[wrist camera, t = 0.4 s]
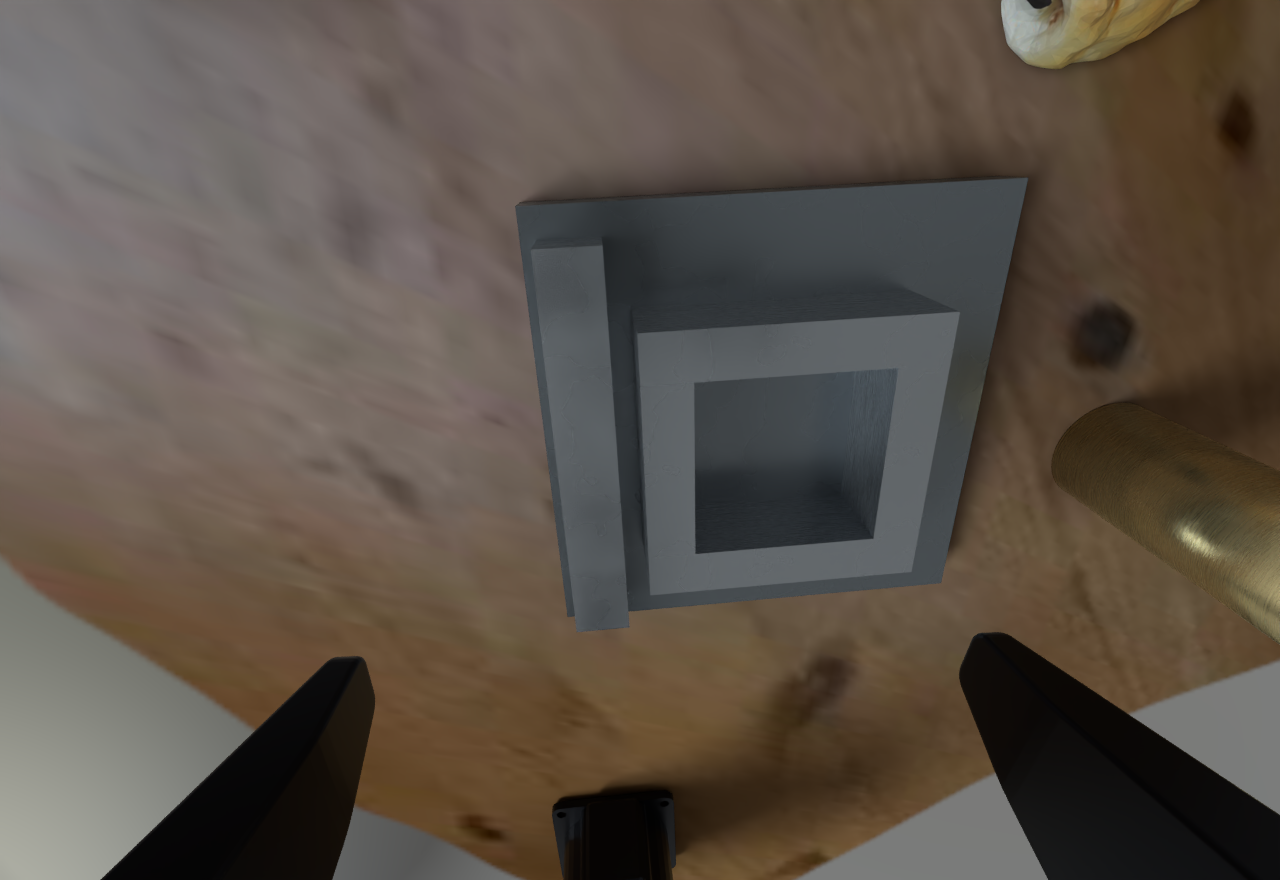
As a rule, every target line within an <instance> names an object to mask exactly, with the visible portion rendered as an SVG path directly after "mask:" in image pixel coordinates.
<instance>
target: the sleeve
mask: <svg viewBox="0 0 1280 880" xmlns="http://www.w3.org/2000/svg"><path fill="white" fill-rule="evenodd" d="M1051 468H1052V475H1053V478H1054V480H1055V482H1056V483H1057V485H1058V486H1059V487H1060V488H1061V489H1062V490H1064V491H1065V492H1067V493H1068V494H1069V495H1071V496H1072V497H1074V498H1075V499H1076V500H1078V501H1079V502H1081V503H1082V504H1083V505H1085V506H1086V507H1088V508H1089V509H1090V510H1092V511H1093V512H1095V513H1096V514H1097V515H1099V516H1100V517H1102V518H1103V519H1104V520H1106V521H1107V522H1109V523H1110V524H1111V525H1113V526H1114V527H1116V528H1117V529H1118V530H1120V531H1121V532H1123V533H1124V534H1125V535H1127V536H1128V537H1130V538H1131V539H1132V540H1134V541H1135V542H1137V543H1138V544H1139V545H1141V546H1142V547H1144V548H1145V549H1146V550H1148V551H1149V552H1151V553H1152V554H1153V555H1155V556H1156V557H1158V558H1159V559H1160V560H1162V561H1163V562H1165V563H1166V564H1167V565H1169V566H1170V567H1172V568H1173V569H1174V570H1176V571H1177V572H1179V573H1180V574H1181V575H1183V576H1184V577H1186V578H1187V579H1188V580H1190V581H1191V582H1193V583H1194V584H1195V585H1197V586H1198V587H1200V588H1201V589H1203V590H1204V591H1205V592H1207V593H1208V594H1210V595H1211V596H1212V597H1214V598H1215V599H1217V600H1218V601H1219V602H1221V603H1222V604H1224V605H1225V606H1226V607H1228V608H1229V609H1231V610H1232V611H1233V612H1235V613H1236V614H1238V615H1239V616H1240V617H1242V618H1243V619H1245V620H1246V621H1247V622H1249V623H1250V624H1252V625H1253V626H1254V627H1256V628H1257V629H1259V630H1260V631H1261V632H1263V633H1264V634H1266V635H1267V636H1268V637H1270V638H1271V639H1273V640H1274V641H1275V642H1277V643H1278V644H1280V471H1279V470H1277V469H1274V468H1272V467H1270V466H1268V465H1266V464H1264V463H1261V462H1259V461H1257V460H1255V459H1253V458H1251V457H1248V456H1246V455H1244V454H1242V453H1240V452H1238V451H1235V450H1233V449H1231V448H1229V447H1227V446H1225V445H1223V444H1220V443H1218V442H1216V441H1214V440H1212V439H1210V438H1207V437H1205V436H1203V435H1201V434H1199V433H1197V432H1194V431H1192V430H1190V429H1188V428H1186V427H1184V426H1181V425H1179V424H1177V423H1175V422H1173V421H1171V420H1169V419H1166V418H1164V417H1162V416H1160V415H1158V414H1156V413H1153V412H1151V411H1149V410H1147V409H1145V408H1143V407H1140V406H1138V405H1135V404H1132V403H1114V404H1109V405H1105V406H1102V407H1099V408H1097V409H1095V410H1093V411H1091V412H1089V413H1087V414H1086V415H1084V416H1083V417H1081V418H1080V419H1079V420H1077V421H1076V422H1075V423H1074V424H1073V425H1072V426H1071V427H1070V428H1069V429H1068V430H1067V431H1066V432H1065V434H1064V435H1063V436H1062V438H1061V439H1060V441H1059V442H1058V444H1057V446H1056V448H1055V451H1054V454H1053V458H1052V466H1051Z"/></svg>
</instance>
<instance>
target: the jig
mask: <svg viewBox="0 0 1280 880" xmlns="http://www.w3.org/2000/svg"><path fill="white" fill-rule="evenodd" d="M1027 182H1028V178H1026V177H1010V176H987V177H969V178H951V179H933V180H915V181H897V182H879V183H861V184H843V185H825V186H806V187H788V188H770V189H752V190H734V191H716V192H698V193H680V194H662V195H644V196H626V197H608V198H590V199H572V200H554V201H536V202H520V203H519V204H518V205H516V206H515V208H516V215H517V223H518V231H519V239H520V247H521V255H522V262H523V270H524V278H525V286H526V294H527V302H528V310H529V317H530V325H531V333H532V341H533V349H534V357H535V364H536V372H537V380H538V388H539V396H540V404H541V411H542V419H543V427H544V435H545V443H546V451H547V458H548V466H549V474H550V482H551V490H552V498H553V505H554V513H555V521H556V529H557V537H558V545H559V552H560V560H561V568H562V576H563V584H564V592H565V599H566V607H567V615H568V617H572V616H575V621H576V629H577V632H583V631H594V630H605V629H616V628H627V627H629V615H628V611H639V610H650V609H661V608H672V607H683V606H694V605H705V604H716V603H727V602H738V601H749V600H760V599H771V598H782V597H793V596H804V595H815V594H826V593H837V592H848V591H859V590H870V589H881V588H892V587H903V586H914V585H925V584H936V583H941V580H942V576H943V571H944V566H945V562H946V557H947V552H948V548H949V543H950V539H951V534H952V529H953V525H954V520H955V515H956V511H957V506H958V501H959V497H960V492H961V488H962V483H963V478H964V474H965V469H966V464H967V460H968V455H969V451H970V446H971V441H972V437H973V432H974V427H975V423H976V418H977V413H978V409H979V404H980V400H981V395H982V390H983V386H984V381H985V376H986V372H987V367H988V362H989V358H990V353H991V349H992V344H993V339H994V335H995V330H996V325H997V321H998V316H999V311H1000V307H1001V302H1002V298H1003V293H1004V288H1005V284H1006V279H1007V274H1008V270H1009V265H1010V260H1011V256H1012V251H1013V247H1014V242H1015V237H1016V233H1017V228H1018V223H1019V219H1020V214H1021V209H1022V205H1023V200H1024V196H1025V191H1026V186H1027Z"/></svg>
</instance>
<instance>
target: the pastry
mask: <svg viewBox="0 0 1280 880" xmlns="http://www.w3.org/2000/svg"><path fill="white" fill-rule="evenodd" d="M1199 1H1200V0H1002V2H1001V14H1002V20H1003V26H1004V31H1005V35H1006V41H1007V44H1008V46H1009V47H1010V48H1011V49H1012V50H1013V51H1014V52H1015V53H1016V54H1017V55H1018V56H1019V57H1020V58H1021V59H1022V60H1023V61H1024V62H1025V63H1027V64H1029V65H1033V66H1036V67H1041V68H1049V69H1062V68H1063V67H1065V66H1066V65H1068V64H1071V63H1076V62H1085V61H1095V60H1100V59H1103V58H1105V57H1107V56H1109V55H1111V54H1114V53H1116V52H1118V51H1120V50H1121V49H1122V48H1123V47H1125V46H1126V45H1128V44H1130V43H1132V42H1135V41H1137V40H1140V39H1142V38H1144V37H1145V36H1147V35H1148V34H1150V33H1151V32H1153V31H1154V30H1155V29H1157V28H1158V27H1159V26H1161V25H1162V24H1164V23H1165V22H1166V21H1168V20H1169V19H1170V18H1172V17H1174V16H1177V15H1178V14H1180V13H1182V12H1184V11H1186V10H1188V9H1190V8H1192V7H1193V6H1195V5H1196V4H1197V3H1198V2H1199Z"/></svg>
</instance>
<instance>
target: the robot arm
mask: <svg viewBox="0 0 1280 880" xmlns="http://www.w3.org/2000/svg"><path fill="white" fill-rule="evenodd" d="M959 679H960V684H961V687H962V690H963V692H964V695H965V697H966V700H967V702H968V705H969V707H970V710H971V712H972V715H973V717H974V720H975V722H976V725H977V727H978V730H979V732H980V735H981V738H982V740H983V743H984V745H985V748H986V750H987V753H988V755H989V758H990V760H991V763H992V765H993V768H994V770H995V773H996V775H997V777H998V779H999V782H1000V784H1001V786H1002V789H1003V791H1004V793H1005V795H1006V797H1007V799H1008V801H1009V803H1010V805H1011V807H1012V809H1013V811H1014V813H1015V815H1016V817H1017V819H1018V821H1019V823H1020V825H1021V827H1022V829H1023V831H1024V833H1025V835H1026V837H1027V839H1028V841H1029V843H1030V845H1031V847H1032V849H1033V851H1034V853H1035V854H1036V857H1037V858H1038V860H1039V862H1040V864H1041V866H1042V868H1043V870H1044V872H1045V874H1046V876H1047V878H1048V880H1280V815H1279V814H1278V813H1276V812H1275V811H1273V810H1272V809H1270V808H1269V807H1267V806H1265V805H1264V804H1263V803H1261V802H1260V801H1258V800H1256V799H1255V798H1254V797H1252V796H1251V795H1249V794H1248V793H1246V792H1245V791H1243V790H1242V789H1240V788H1238V787H1237V786H1235V785H1234V784H1232V783H1231V782H1230V781H1228V780H1227V779H1225V778H1223V777H1222V776H1220V775H1219V774H1217V773H1216V772H1214V771H1213V770H1211V769H1210V768H1208V767H1207V766H1205V765H1204V764H1202V763H1201V762H1199V761H1198V760H1196V759H1195V758H1193V757H1192V756H1190V755H1189V754H1187V753H1186V752H1184V751H1183V750H1181V749H1180V748H1178V747H1177V746H1175V745H1174V744H1172V743H1171V742H1169V741H1168V740H1166V739H1165V738H1163V737H1162V736H1160V735H1159V734H1157V733H1156V732H1154V731H1153V730H1151V729H1150V728H1148V727H1147V726H1145V725H1144V724H1142V723H1141V722H1139V721H1138V720H1136V719H1135V718H1133V717H1132V716H1130V715H1129V714H1127V713H1126V712H1124V711H1123V710H1121V709H1120V708H1118V707H1117V706H1115V705H1114V704H1112V703H1111V702H1109V701H1108V700H1106V699H1105V698H1103V697H1102V696H1100V695H1099V694H1097V693H1096V692H1094V691H1093V690H1091V689H1090V688H1088V687H1087V686H1085V685H1084V684H1082V683H1080V682H1079V681H1077V680H1076V679H1074V678H1073V677H1071V676H1070V675H1068V674H1067V673H1065V672H1064V671H1062V670H1061V669H1059V668H1058V667H1056V666H1055V665H1053V664H1052V663H1050V662H1049V661H1047V660H1046V659H1044V658H1043V657H1041V656H1040V655H1038V654H1037V653H1035V652H1034V651H1032V650H1031V649H1029V648H1028V647H1026V646H1025V645H1023V644H1022V643H1020V642H1019V641H1017V640H1016V639H1014V638H1013V637H1011V636H1009V635H1008V634H1005V633H1001V632H994V633H979V634H977V635H975V636H974V637H973V639H972V641H971V643H970V646H969V648H968V650H967V653H966V655H965V657H964V660H963V662H962V664H961V667H960V671H959ZM374 709H375V694H374V690H373V687H372V683H371V679H370V676H369V672H368V668H367V665H366V662H365V660H364V659H363V658H362V657H359V656H349V657H335V658H332V659H330V660H329V661H327V662H326V663H325V664H324V665H323V666H322V667H321V668H320V669H319V670H318V671H317V672H316V673H315V674H314V675H313V676H312V677H310V678H309V679H308V680H307V681H306V682H305V683H304V684H303V685H302V686H301V687H300V688H299V689H298V690H297V691H296V692H295V693H294V694H293V695H292V696H291V697H290V698H289V699H288V700H287V701H286V702H285V703H283V704H282V705H281V706H280V707H279V708H278V709H277V710H276V711H275V712H274V713H273V714H272V715H271V716H270V717H269V718H268V719H267V720H266V721H265V722H264V723H263V724H262V725H261V726H260V727H259V728H258V729H256V730H255V731H254V732H253V733H252V734H251V735H250V736H249V737H248V738H247V739H246V740H245V741H244V742H243V743H242V744H241V745H240V746H239V747H238V748H237V749H236V750H235V751H234V752H233V753H232V754H231V755H230V756H228V757H227V758H226V759H225V760H224V761H223V762H222V763H221V764H220V765H219V766H218V767H217V768H216V769H215V770H214V771H213V772H212V773H211V774H210V775H209V776H208V777H207V778H206V779H205V780H204V781H203V782H201V783H200V784H199V786H197V787H196V788H195V789H194V790H193V791H192V792H191V793H190V794H189V795H188V796H187V797H186V798H185V799H184V800H183V801H182V802H181V803H180V804H179V805H178V806H177V807H176V808H175V809H174V810H172V811H171V812H170V813H169V814H168V815H167V816H166V817H165V818H164V819H163V820H162V821H161V822H160V823H159V824H158V825H157V826H156V827H155V828H154V829H153V830H152V831H151V832H150V833H149V834H148V835H147V836H145V837H144V838H143V839H142V840H141V841H140V842H139V843H138V844H137V845H136V846H135V847H134V848H133V849H132V850H131V851H130V852H129V853H128V854H127V855H126V856H125V857H124V858H123V859H122V860H121V861H119V863H118V864H117V865H115V866H114V867H113V868H112V869H111V870H110V871H109V872H108V873H107V874H106V875H105V876H104V877H103V878H102V879H101V880H332V879H333V876H334V872H335V869H336V866H337V863H338V860H339V857H340V854H341V851H342V848H343V845H344V841H345V838H346V835H347V831H348V828H349V824H350V820H351V816H352V812H353V807H354V803H355V798H356V794H357V789H358V784H359V780H360V775H361V770H362V766H363V761H364V756H365V752H366V747H367V742H368V738H369V733H370V728H371V724H372V719H373V714H374ZM552 818H553V824H554V829H555V835H556V841H557V847H558V852H559V858H560V864H561V869H562V875H563V878H564V880H673V876H672V868H674V866H675V865H676V853H675V824H674V801H673V795H672V793H671V792H669V791H656V792H647V793H638V794H628V795H619V796H609V797H600V798H590V799H581V800H572V801H562V802H557V803H556V804H554V805H553V809H552Z"/></svg>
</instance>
